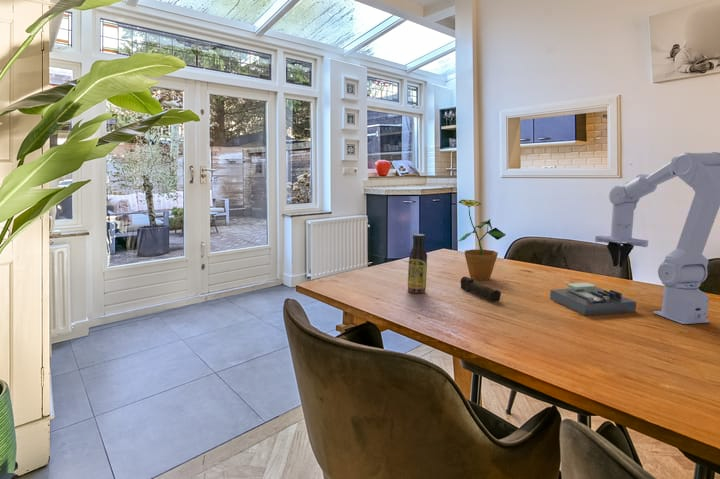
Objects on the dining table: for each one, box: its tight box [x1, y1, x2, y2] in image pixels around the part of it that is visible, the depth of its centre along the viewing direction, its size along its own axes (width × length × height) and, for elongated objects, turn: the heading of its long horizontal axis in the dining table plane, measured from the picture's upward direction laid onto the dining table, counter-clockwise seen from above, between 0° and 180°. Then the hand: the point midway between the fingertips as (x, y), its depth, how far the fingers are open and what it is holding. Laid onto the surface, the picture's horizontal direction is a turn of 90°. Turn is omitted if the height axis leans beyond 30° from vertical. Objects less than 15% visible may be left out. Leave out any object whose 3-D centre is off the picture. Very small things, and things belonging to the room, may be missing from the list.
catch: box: [566, 282, 597, 293], centre depth 128 cm, size 4×7×2 cm, turn 99°
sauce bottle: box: [407, 233, 428, 294], centre depth 140 cm, size 6×6×20 cm
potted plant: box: [457, 199, 507, 281], centre depth 156 cm, size 18×19×30 cm
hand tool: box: [460, 276, 502, 303], centre depth 137 cm, size 19×4×5 cm, turn 18°
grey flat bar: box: [565, 287, 604, 302], centre depth 123 cm, size 12×3×1 cm, turn 9°
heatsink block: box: [549, 286, 637, 316], centre depth 124 cm, size 16×16×4 cm
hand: (618, 266), depth 133 cm, fingers closed
